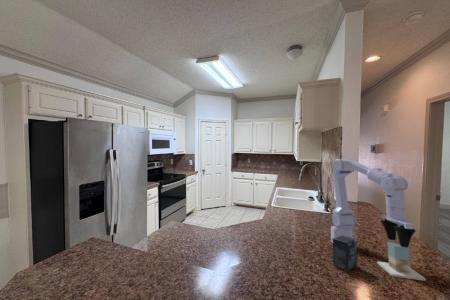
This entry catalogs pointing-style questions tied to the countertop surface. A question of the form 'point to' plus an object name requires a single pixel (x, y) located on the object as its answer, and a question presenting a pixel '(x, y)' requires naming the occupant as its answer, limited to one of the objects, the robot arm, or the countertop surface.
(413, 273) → the baseplate
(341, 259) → the box
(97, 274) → the countertop surface
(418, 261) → the countertop surface
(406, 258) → the brick top
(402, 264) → the brick base
